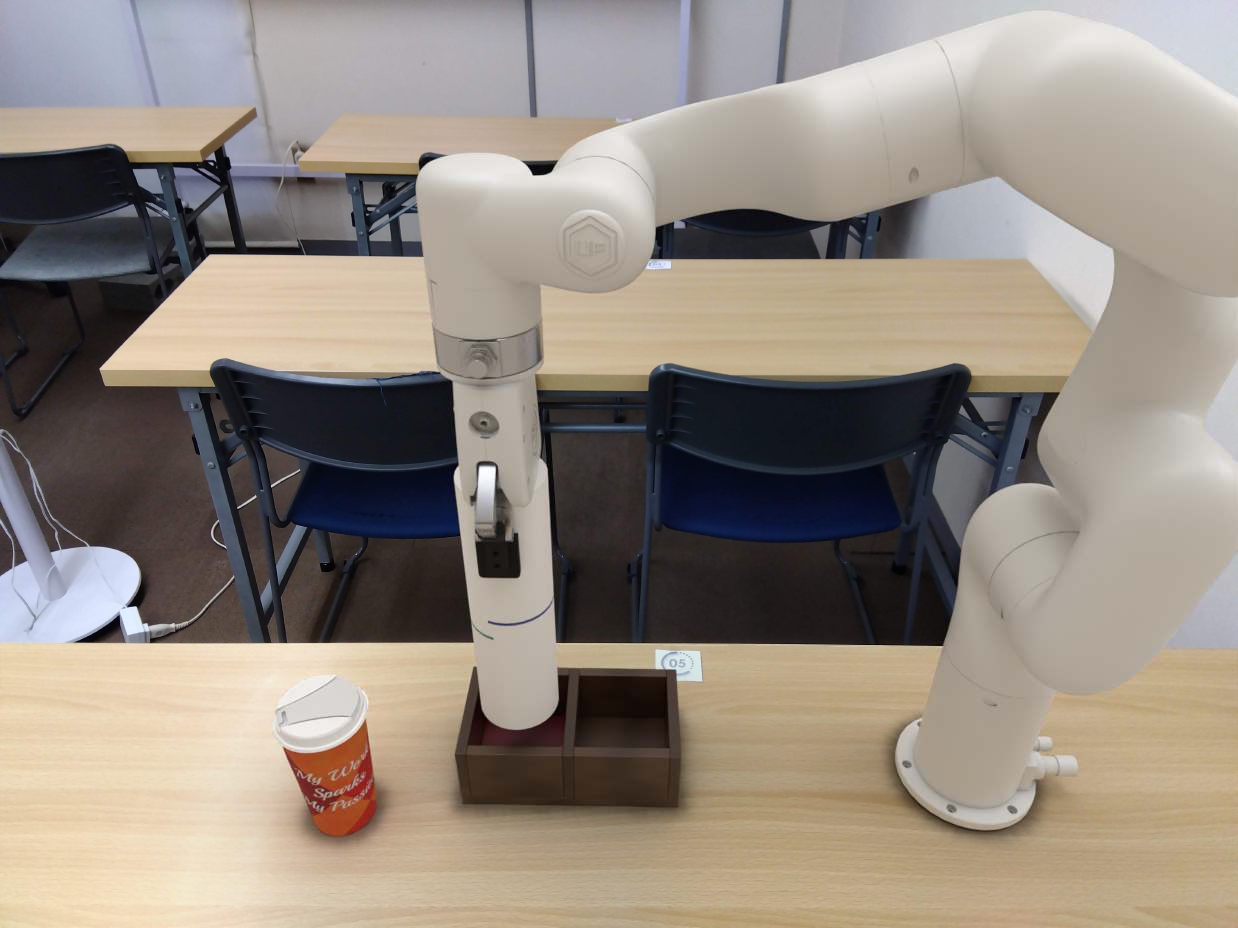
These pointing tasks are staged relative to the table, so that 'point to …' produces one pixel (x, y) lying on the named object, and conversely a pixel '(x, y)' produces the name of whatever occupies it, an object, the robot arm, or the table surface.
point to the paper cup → (329, 751)
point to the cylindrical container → (514, 616)
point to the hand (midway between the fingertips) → (506, 542)
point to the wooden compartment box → (579, 744)
